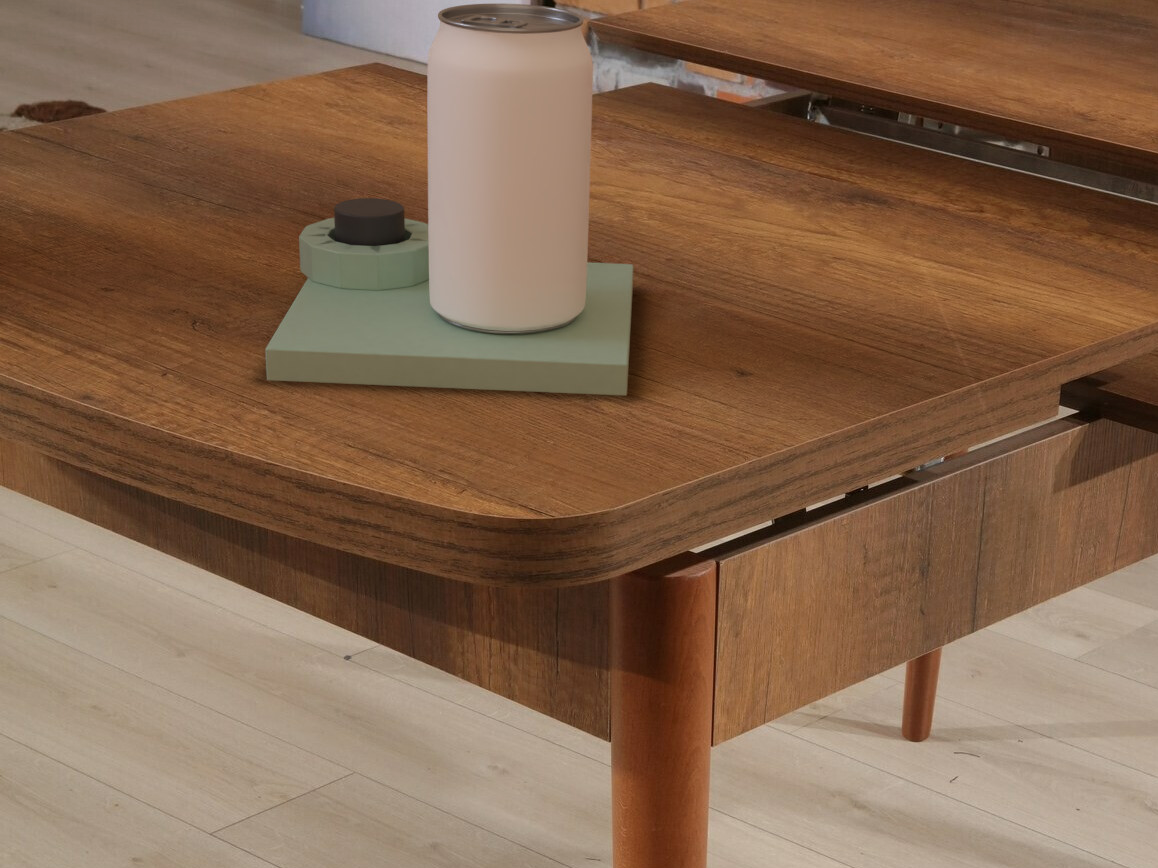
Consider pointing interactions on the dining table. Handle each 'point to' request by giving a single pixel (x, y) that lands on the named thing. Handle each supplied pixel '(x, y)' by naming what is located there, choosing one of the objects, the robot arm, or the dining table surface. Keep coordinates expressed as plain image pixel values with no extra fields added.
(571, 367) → the scale
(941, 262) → the dining table surface
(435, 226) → the can
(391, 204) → the button
